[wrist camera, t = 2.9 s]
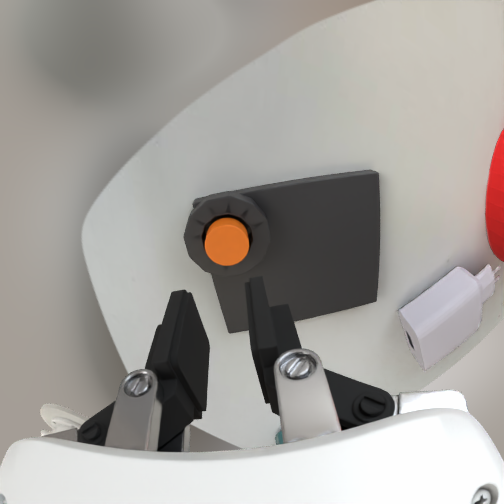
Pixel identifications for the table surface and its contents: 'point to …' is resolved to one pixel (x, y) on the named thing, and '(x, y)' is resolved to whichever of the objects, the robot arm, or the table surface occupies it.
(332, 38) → the table surface
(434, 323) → the charger
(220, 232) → the button
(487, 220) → the toy clock
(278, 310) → the robot arm
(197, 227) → the dark grey flat slab
